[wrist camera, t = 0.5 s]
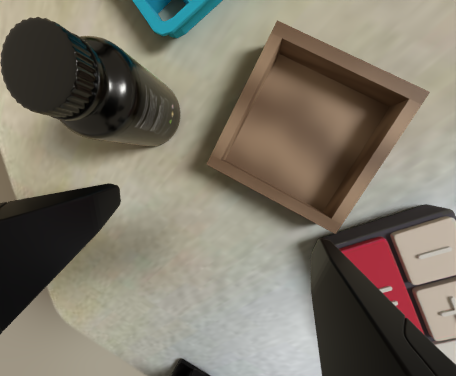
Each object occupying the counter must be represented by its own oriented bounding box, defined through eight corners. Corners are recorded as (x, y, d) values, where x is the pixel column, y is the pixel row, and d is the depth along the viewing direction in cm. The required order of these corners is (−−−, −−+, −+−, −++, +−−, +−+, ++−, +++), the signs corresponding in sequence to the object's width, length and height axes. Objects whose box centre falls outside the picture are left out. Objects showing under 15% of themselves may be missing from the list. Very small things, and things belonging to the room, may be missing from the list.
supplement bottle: (160, 68, 22) (45, -39, 10) (194, 124, 22) (120, 83, 10) (112, 106, 23) (-38, 49, 12) (144, 158, 24) (29, 156, 12)
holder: (324, 223, 21) (335, 234, 18) (214, 163, 22) (206, 164, 19) (400, 103, 19) (429, 92, 16) (274, 43, 20) (277, 20, 17)
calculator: (461, 209, 17) (529, 382, 17) (421, 201, 21) (476, 339, 21) (324, 251, 19) (385, 406, 19) (312, 236, 23) (363, 362, 23)
